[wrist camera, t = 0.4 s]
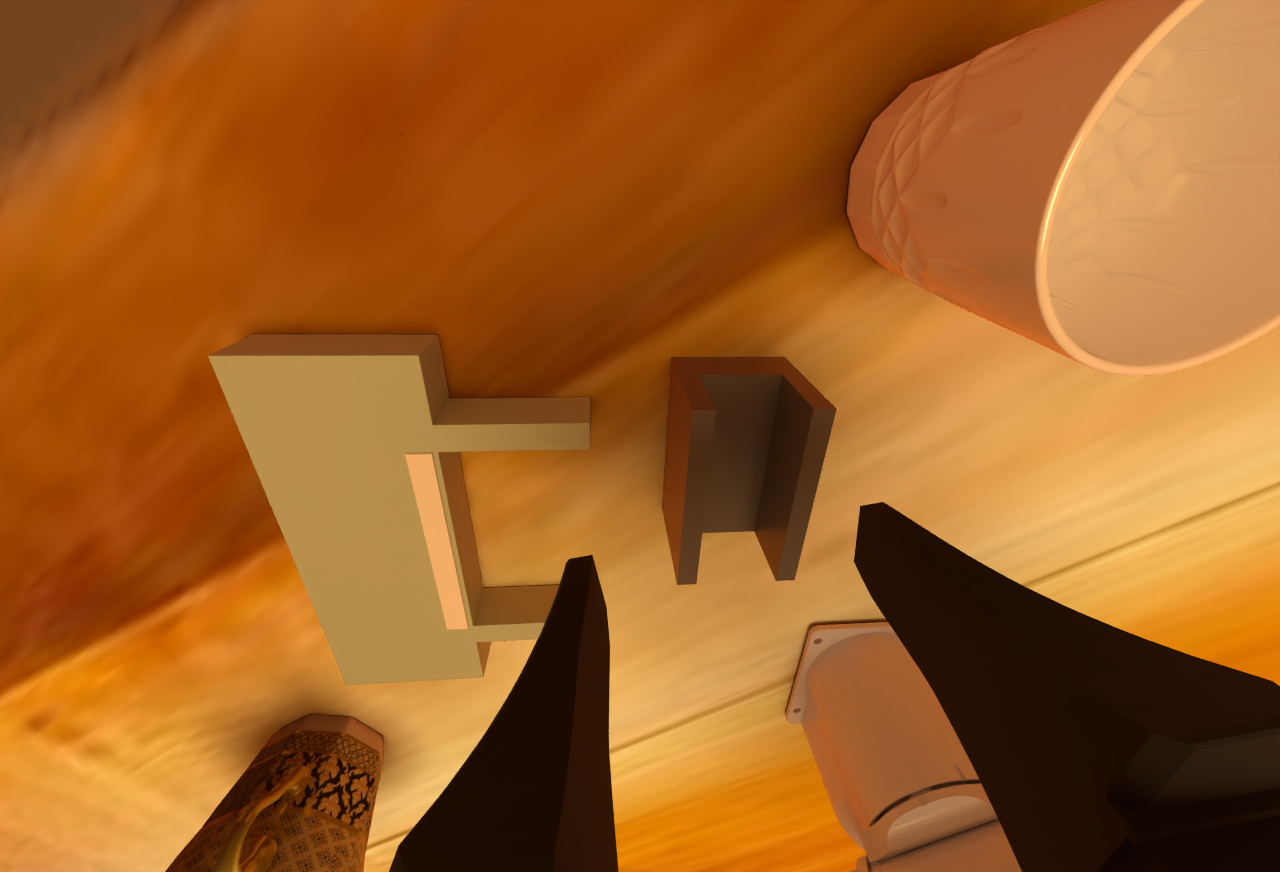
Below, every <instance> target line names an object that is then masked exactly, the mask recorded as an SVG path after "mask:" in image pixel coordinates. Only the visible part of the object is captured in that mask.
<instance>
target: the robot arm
mask: <svg viewBox="0 0 1280 872" xmlns="http://www.w3.org/2000/svg"><path fill="white" fill-rule="evenodd" d="M854 563H855V565H856V567H857V569H858V571H859V573H860V575H861V577H862V579H863V581H864V583H865V585H866V587H867V589H868V591H869V593H870V595H871V597H872V598H873V600H874V601H875V603H876V605H877V606H878V608H879V609H880V611H881V612H882V614H883V615H884V617H885V618H886V620H887V621H888V622H875V623H855V624H835V625H817V626H814V627H812V628H811V629H810V631H809V634H808V638H807V641H806V645H805V648H804V652H803V655H802V659H801V662H800V666H799V669H798V673H797V677H796V680H795V684H794V687H793V691H792V694H791V698H790V701H789V705H788V708H787V712H786V719H787V721H788V722H789V723H802V726H803V728H804V731H805V734H806V736H807V739H808V742H809V744H810V747H811V750H812V753H813V755H814V758H815V761H816V763H817V766H818V769H819V771H820V774H821V777H822V780H823V782H824V785H825V788H826V790H827V793H828V796H829V798H830V801H831V804H832V806H833V809H834V812H835V814H836V816H837V818H838V820H839V822H840V823H841V825H842V827H843V828H844V829H845V831H846V832H847V833H848V835H849V836H850V837H851V838H852V839H853V840H854V841H855V842H856V843H857V844H858V845H859V846H860V847H861V848H862V849H863V850H864V851H865V852H866V854H867V855H866V856H863V857H860V858H858V859H857V863H856V872H1280V686H1278V685H1277V684H1276V683H1274V682H1273V681H1270V680H1267V679H1264V678H1261V677H1258V676H1254V675H1251V674H1248V673H1245V672H1242V671H1238V670H1235V669H1232V668H1229V667H1226V666H1222V665H1219V664H1216V663H1213V662H1210V661H1207V660H1203V659H1200V658H1197V657H1194V656H1191V655H1188V654H1185V653H1183V652H1180V651H1177V650H1174V649H1171V648H1169V647H1166V646H1163V645H1160V644H1157V643H1155V642H1152V641H1149V640H1146V639H1144V638H1141V637H1139V636H1136V635H1133V634H1131V633H1128V632H1126V631H1123V630H1120V629H1118V628H1115V627H1113V626H1111V625H1108V624H1106V623H1103V622H1101V621H1099V620H1096V619H1094V618H1091V617H1089V616H1087V615H1084V614H1082V613H1080V612H1077V611H1075V610H1073V609H1071V608H1068V607H1066V606H1064V605H1062V604H1060V603H1057V602H1055V601H1053V600H1051V599H1049V598H1047V597H1045V596H1043V595H1041V594H1039V593H1037V592H1035V591H1033V590H1030V589H1028V588H1026V587H1024V586H1022V585H1021V584H1019V583H1017V582H1015V581H1013V580H1011V579H1009V578H1007V577H1005V576H1004V575H1002V574H1000V573H998V572H996V571H995V570H993V569H991V568H989V567H987V566H985V565H984V564H982V563H980V562H978V561H977V560H975V559H973V558H972V557H970V556H968V555H966V554H965V553H963V552H961V551H960V550H958V549H956V548H955V547H953V546H952V545H950V544H948V543H947V542H945V541H943V540H942V539H940V538H939V537H937V536H936V535H934V534H932V533H931V532H929V531H928V530H926V529H925V528H923V527H921V526H920V525H918V524H917V523H915V522H914V521H912V520H911V519H909V518H907V517H906V516H904V515H903V514H901V513H900V512H898V511H897V510H895V509H893V508H892V507H890V506H889V505H887V504H885V503H884V502H880V503H875V504H869V505H864V506H860V513H859V522H858V531H857V539H856V548H855V557H854ZM609 674H610V641H609V629H608V619H607V608H606V604H605V600H604V596H603V593H602V589H601V585H600V582H599V578H598V574H597V571H596V567H595V563H594V560H593V556H592V555H589V556H583V557H578V558H572V559H569V560H568V561H567V563H566V565H565V569H564V573H563V576H562V579H561V582H560V585H559V588H558V591H557V594H556V596H555V599H554V602H553V604H552V607H551V609H550V612H549V614H548V616H547V619H546V621H545V624H544V626H543V629H542V631H541V633H540V635H539V638H538V640H537V642H536V644H535V646H534V648H533V650H532V652H531V654H530V656H529V658H528V660H527V663H526V665H525V666H524V668H523V670H522V672H521V674H520V676H519V678H518V680H517V681H516V683H515V685H514V687H513V689H512V690H511V692H510V694H509V696H508V697H507V699H506V701H505V702H504V704H503V706H502V707H501V709H500V711H499V712H498V714H497V715H496V717H495V718H494V720H493V722H492V723H491V725H490V726H489V728H488V730H487V731H486V733H485V734H484V736H483V737H482V739H481V740H480V742H479V743H478V745H477V746H476V747H475V749H474V750H473V752H472V753H471V754H470V756H469V757H468V758H467V760H466V761H465V763H464V764H463V765H462V767H461V768H460V769H459V771H458V772H457V774H456V775H455V776H454V778H453V779H452V780H451V782H450V783H449V784H448V786H447V787H446V788H445V790H444V791H443V792H442V794H441V795H440V796H439V797H438V799H437V800H436V801H435V802H434V803H433V805H432V806H431V807H430V808H429V809H428V811H427V812H426V813H425V814H424V816H423V817H422V818H421V819H420V820H419V822H418V823H417V824H416V825H415V826H414V828H413V829H412V830H411V831H410V833H409V834H408V835H407V836H406V837H405V838H404V840H403V841H402V842H401V843H400V845H399V846H398V849H397V851H396V854H395V857H394V860H393V862H392V865H391V868H390V870H389V872H618V861H617V849H616V838H615V825H614V812H613V800H612V786H611V772H610V758H609Z"/></svg>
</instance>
